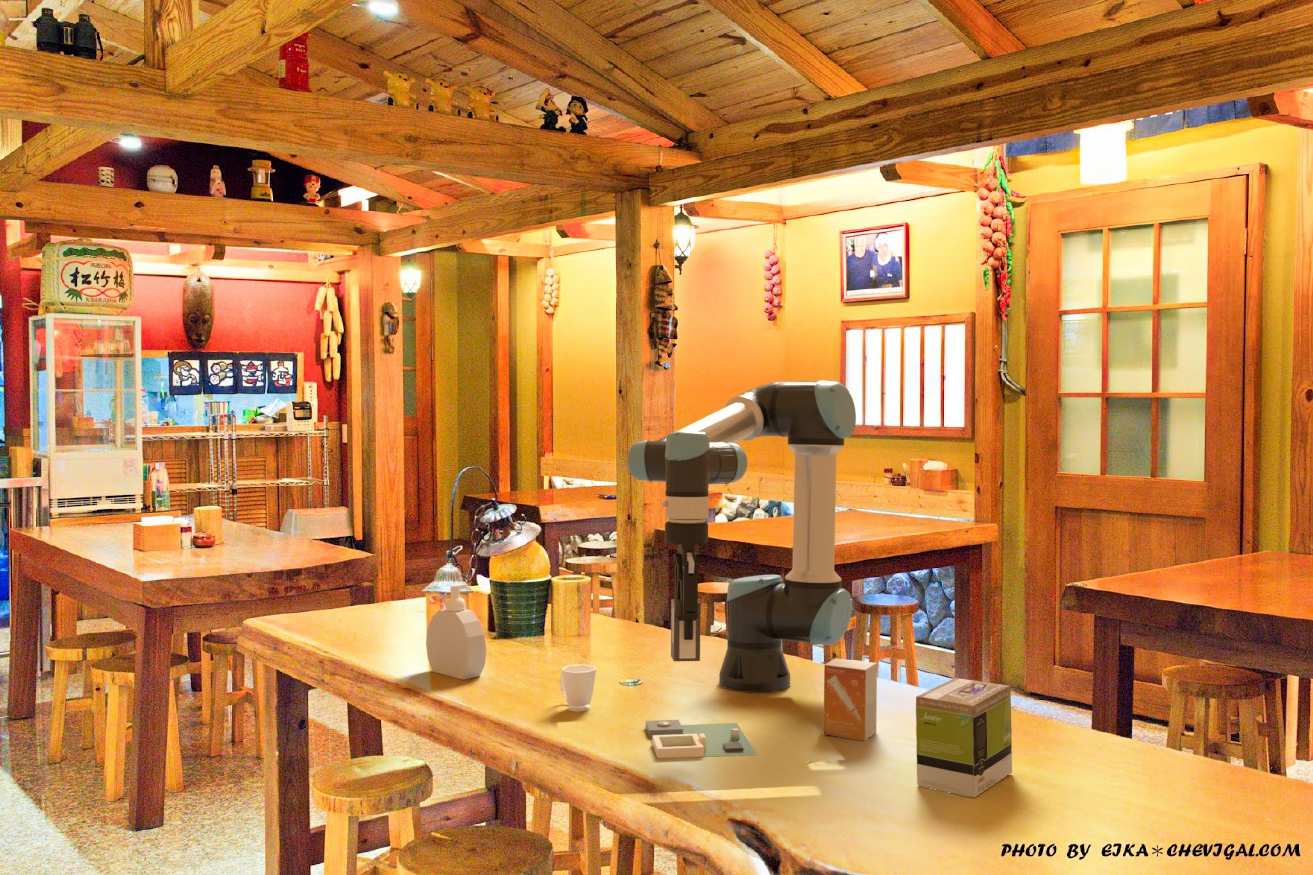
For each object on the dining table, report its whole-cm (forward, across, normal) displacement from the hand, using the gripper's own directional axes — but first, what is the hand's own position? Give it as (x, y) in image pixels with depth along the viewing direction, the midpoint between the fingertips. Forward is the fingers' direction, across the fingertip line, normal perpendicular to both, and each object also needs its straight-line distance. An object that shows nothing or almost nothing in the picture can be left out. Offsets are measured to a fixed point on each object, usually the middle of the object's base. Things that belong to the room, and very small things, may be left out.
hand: (685, 654), depth 199 cm
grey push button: (+17, -6, -3) cm, 18 cm away
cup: (+17, -31, -18) cm, 40 cm away
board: (+17, -2, +3) cm, 17 cm away
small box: (+16, -6, +31) cm, 36 cm away
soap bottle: (+17, -62, -43) cm, 77 cm away
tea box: (+17, +20, +42) cm, 50 cm away
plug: (+1, 0, 0) cm, 1 cm away
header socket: (+16, +3, -2) cm, 16 cm away
